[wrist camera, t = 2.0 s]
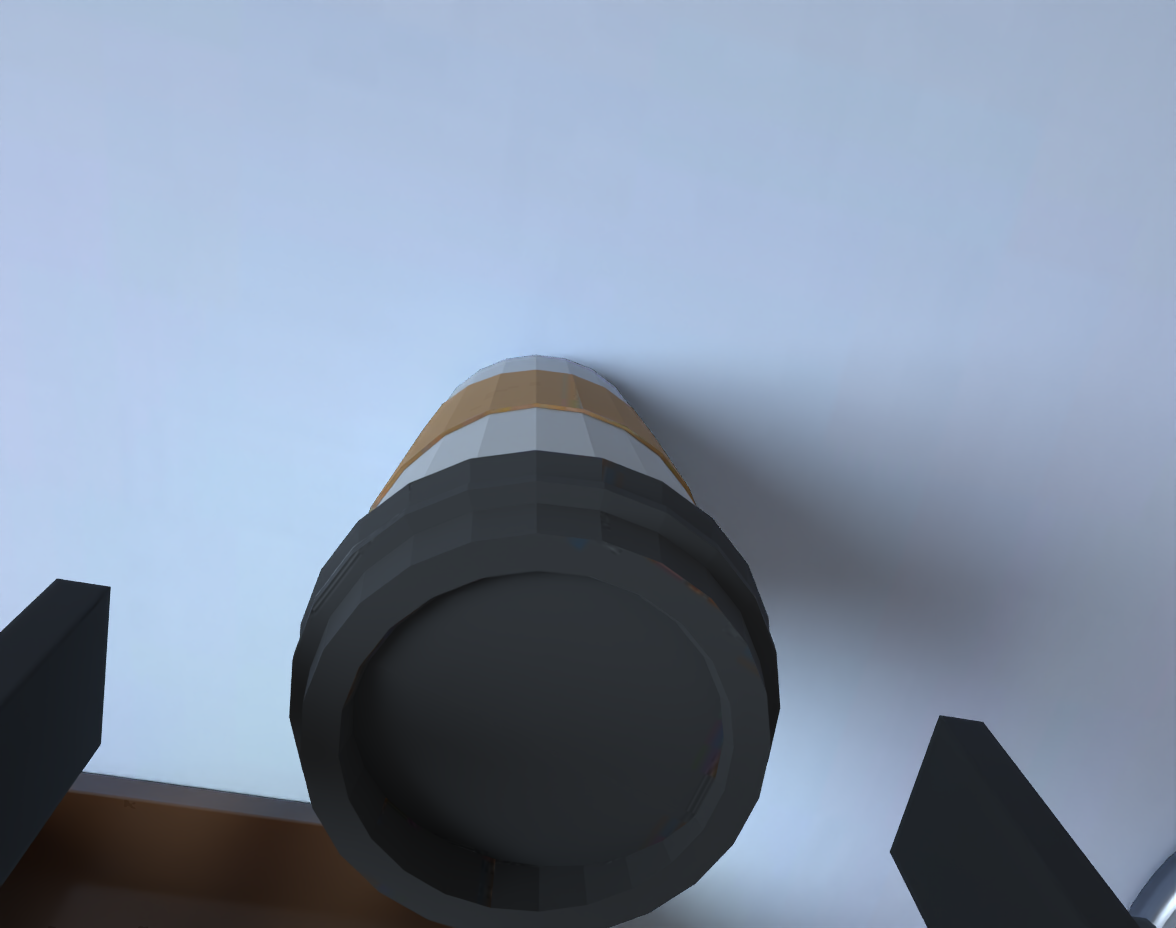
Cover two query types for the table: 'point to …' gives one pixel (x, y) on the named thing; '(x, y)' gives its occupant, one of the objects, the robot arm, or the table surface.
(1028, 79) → the table surface
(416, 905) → the coffee cup
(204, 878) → the box
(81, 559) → the table surface
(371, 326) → the table surface
